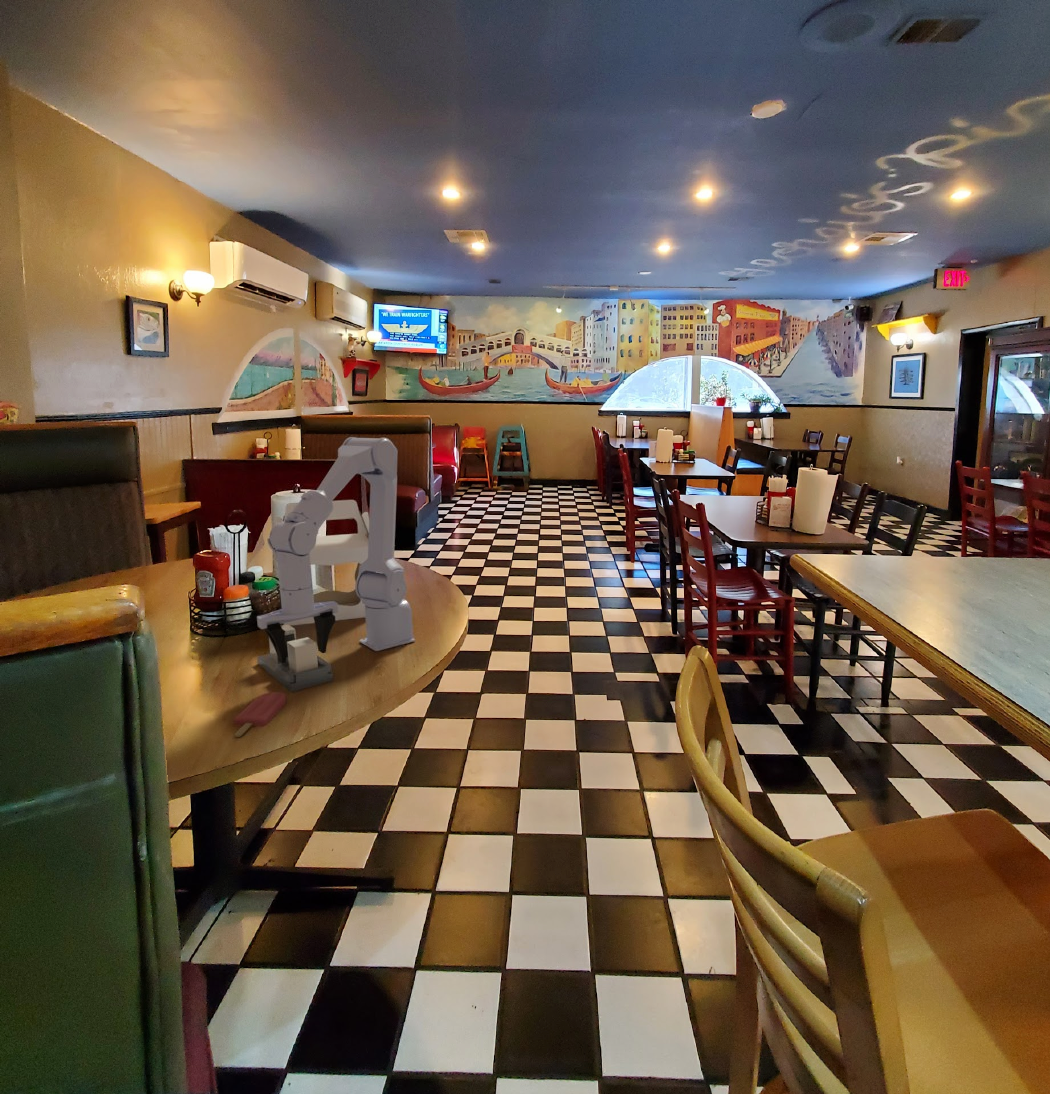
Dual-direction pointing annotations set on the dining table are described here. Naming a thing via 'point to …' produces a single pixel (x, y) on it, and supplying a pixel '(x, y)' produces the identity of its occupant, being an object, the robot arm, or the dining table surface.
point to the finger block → (302, 655)
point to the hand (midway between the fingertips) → (302, 656)
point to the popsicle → (259, 711)
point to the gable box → (339, 558)
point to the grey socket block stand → (285, 675)
